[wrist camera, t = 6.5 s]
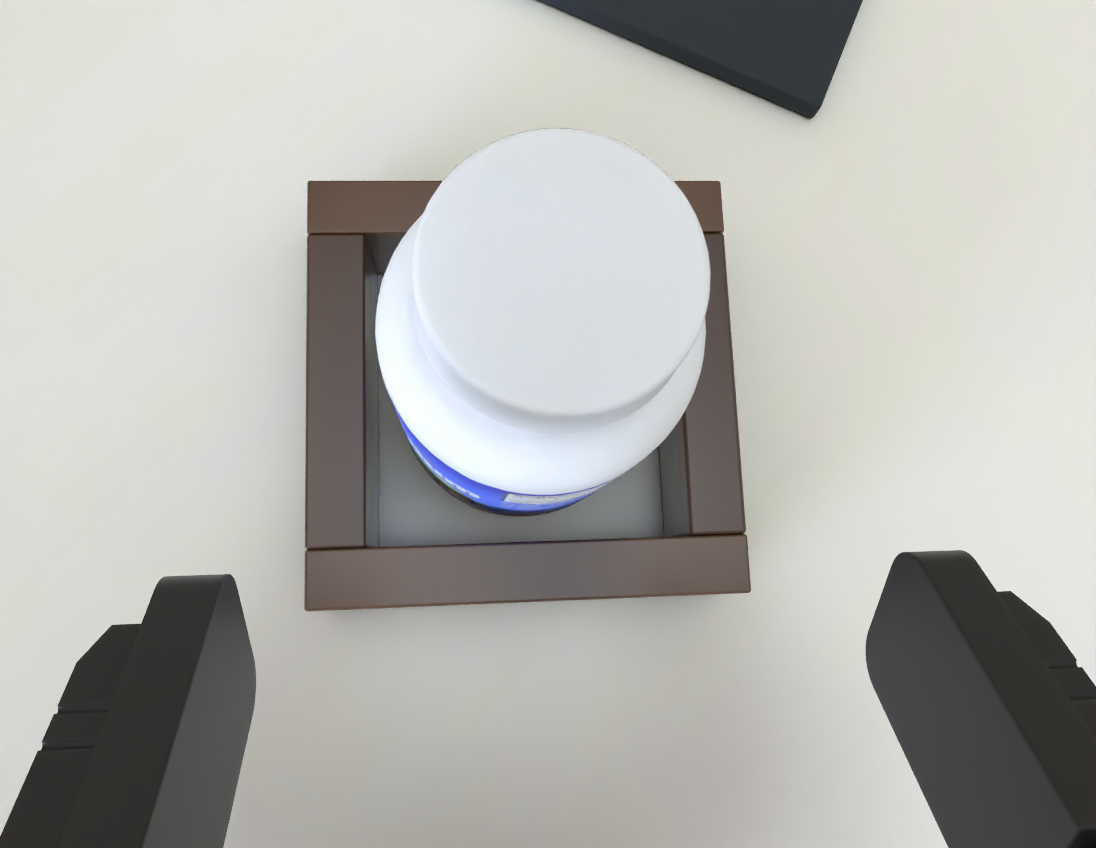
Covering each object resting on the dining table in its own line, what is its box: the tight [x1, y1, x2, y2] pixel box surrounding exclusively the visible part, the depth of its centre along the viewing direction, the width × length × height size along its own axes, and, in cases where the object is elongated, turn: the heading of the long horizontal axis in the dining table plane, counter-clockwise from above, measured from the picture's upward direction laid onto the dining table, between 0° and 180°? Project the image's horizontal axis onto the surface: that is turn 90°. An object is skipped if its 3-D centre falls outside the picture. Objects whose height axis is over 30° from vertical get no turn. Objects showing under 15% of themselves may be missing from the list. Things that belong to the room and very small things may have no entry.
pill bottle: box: [375, 128, 711, 516], centre depth 16 cm, size 5×5×10 cm
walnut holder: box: [304, 181, 751, 611], centre depth 20 cm, size 9×9×3 cm
